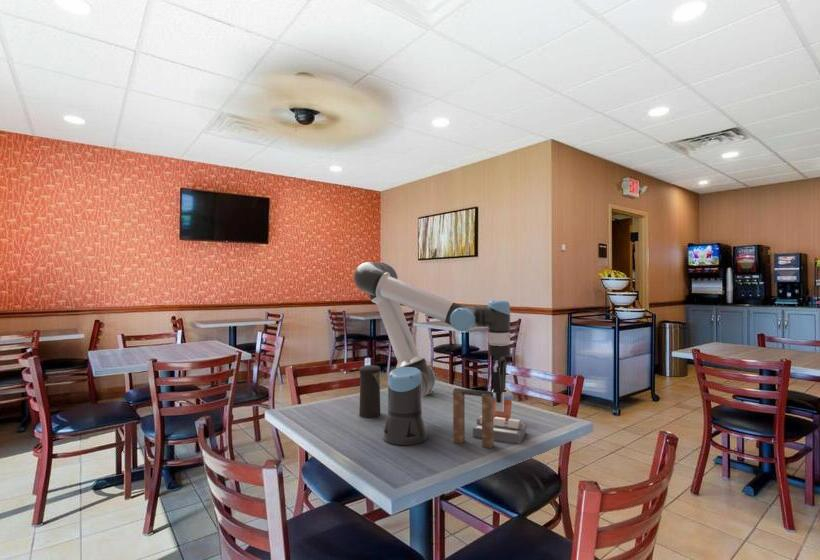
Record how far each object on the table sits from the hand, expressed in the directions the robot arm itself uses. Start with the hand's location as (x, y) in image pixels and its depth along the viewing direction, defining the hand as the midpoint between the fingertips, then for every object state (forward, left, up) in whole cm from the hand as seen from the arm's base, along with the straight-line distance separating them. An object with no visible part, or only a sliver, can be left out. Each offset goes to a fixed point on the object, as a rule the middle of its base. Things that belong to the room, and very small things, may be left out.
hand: (499, 410), depth 153 cm
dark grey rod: (-6, -12, +7) cm, 15 cm away
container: (-54, +1, -9) cm, 55 cm away
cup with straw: (-3, +15, -9) cm, 18 cm away
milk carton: (-52, +43, -9) cm, 68 cm away
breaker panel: (0, 0, -8) cm, 8 cm away
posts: (-6, -12, -8) cm, 16 cm away
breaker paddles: (0, 0, -5) cm, 5 cm away
